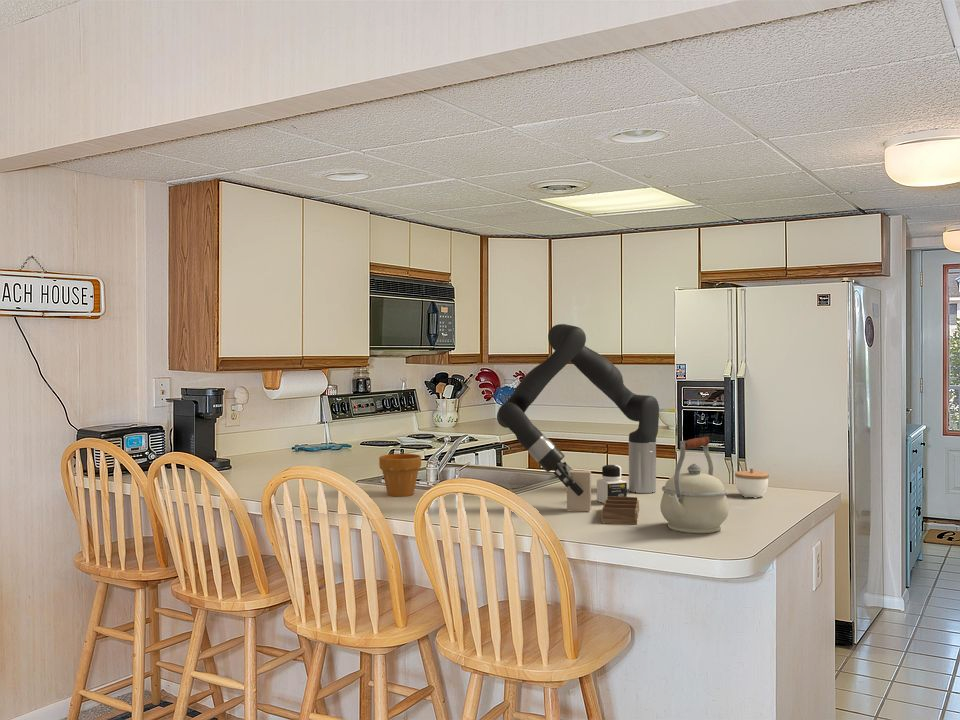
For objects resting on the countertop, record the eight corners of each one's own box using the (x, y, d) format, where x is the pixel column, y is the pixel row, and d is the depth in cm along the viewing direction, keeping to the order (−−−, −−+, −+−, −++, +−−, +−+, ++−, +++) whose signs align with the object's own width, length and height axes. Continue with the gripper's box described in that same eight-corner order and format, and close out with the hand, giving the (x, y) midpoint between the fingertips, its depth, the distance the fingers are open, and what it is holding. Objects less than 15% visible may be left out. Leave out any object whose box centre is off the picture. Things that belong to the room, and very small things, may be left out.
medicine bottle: (607, 505, 270) (607, 467, 270) (596, 501, 277) (596, 464, 277) (627, 503, 273) (627, 466, 273) (615, 500, 280) (615, 463, 279)
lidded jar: (735, 498, 282) (735, 470, 282) (734, 493, 292) (734, 465, 292) (769, 499, 279) (770, 471, 279) (767, 494, 290) (767, 466, 290)
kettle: (681, 517, 251) (681, 433, 251) (741, 526, 239) (742, 437, 239) (639, 532, 232) (639, 440, 231) (703, 542, 220) (703, 445, 220)
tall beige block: (568, 508, 265) (568, 470, 265) (591, 509, 263) (591, 470, 263) (566, 511, 261) (566, 472, 261) (589, 512, 259) (589, 472, 259)
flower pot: (374, 497, 284) (373, 458, 284) (386, 490, 298) (386, 453, 298) (415, 498, 282) (415, 459, 282) (425, 491, 296) (425, 454, 296)
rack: (605, 509, 263) (606, 495, 263) (638, 510, 261) (639, 497, 261) (601, 522, 244) (601, 508, 244) (636, 524, 242) (636, 509, 242)
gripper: (551, 447, 256) (589, 487, 254) (557, 442, 270) (593, 479, 268) (533, 464, 258) (571, 504, 255) (540, 458, 272) (576, 496, 269)
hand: (582, 491), depth 262 cm, fingers open, 8 cm apart
